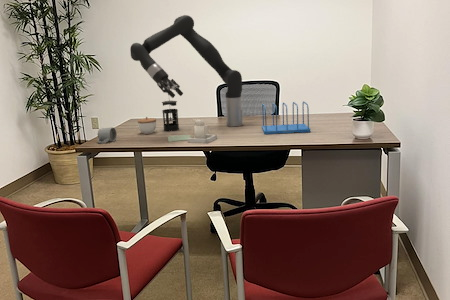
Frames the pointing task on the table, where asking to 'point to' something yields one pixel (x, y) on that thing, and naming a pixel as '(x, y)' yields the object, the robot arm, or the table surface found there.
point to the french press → (174, 125)
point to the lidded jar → (147, 125)
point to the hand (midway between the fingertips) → (178, 95)
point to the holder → (207, 140)
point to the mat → (178, 138)
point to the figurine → (200, 129)
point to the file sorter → (289, 127)
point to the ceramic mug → (107, 135)
